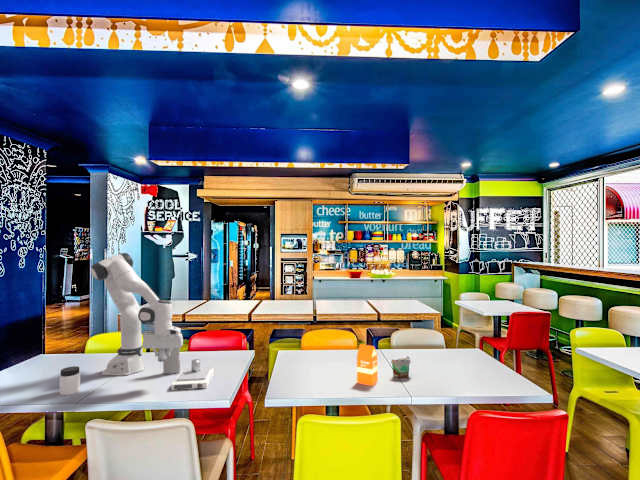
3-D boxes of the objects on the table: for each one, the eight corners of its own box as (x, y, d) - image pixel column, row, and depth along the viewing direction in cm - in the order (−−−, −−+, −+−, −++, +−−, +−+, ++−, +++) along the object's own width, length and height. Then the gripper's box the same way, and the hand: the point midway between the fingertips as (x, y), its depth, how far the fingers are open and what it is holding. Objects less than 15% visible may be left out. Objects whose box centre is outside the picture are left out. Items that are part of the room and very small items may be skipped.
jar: (77, 387, 193) (77, 365, 193) (82, 391, 188) (82, 368, 188) (57, 392, 186) (57, 369, 186) (62, 396, 181) (62, 372, 181)
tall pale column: (161, 374, 211) (161, 337, 211) (164, 372, 215) (163, 335, 215) (179, 374, 212) (179, 336, 212) (182, 371, 216) (181, 334, 216)
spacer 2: (190, 372, 202) (190, 361, 202) (192, 369, 207) (193, 359, 207) (198, 372, 202) (198, 361, 203) (200, 369, 207) (201, 359, 207)
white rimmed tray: (170, 390, 187) (170, 383, 187) (181, 375, 209) (181, 368, 209) (206, 388, 189) (206, 381, 189) (213, 373, 212) (213, 366, 212)
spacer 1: (156, 361, 192) (157, 350, 192) (159, 359, 196) (159, 348, 197) (165, 361, 193) (166, 350, 193) (168, 358, 197) (168, 347, 197)
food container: (398, 380, 198) (398, 362, 198) (391, 377, 203) (391, 359, 203) (415, 376, 203) (415, 359, 204) (408, 373, 209) (407, 356, 209)
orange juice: (371, 385, 191) (371, 348, 191) (356, 382, 196) (356, 345, 196) (377, 381, 198) (377, 344, 198) (363, 378, 202) (362, 342, 203)
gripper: (140, 332, 190) (140, 358, 190) (181, 331, 193) (180, 357, 193) (144, 329, 196) (144, 354, 196) (183, 328, 200) (183, 353, 199)
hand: (162, 355), depth 195 cm, fingers closed on spacer 1, 5 cm apart
